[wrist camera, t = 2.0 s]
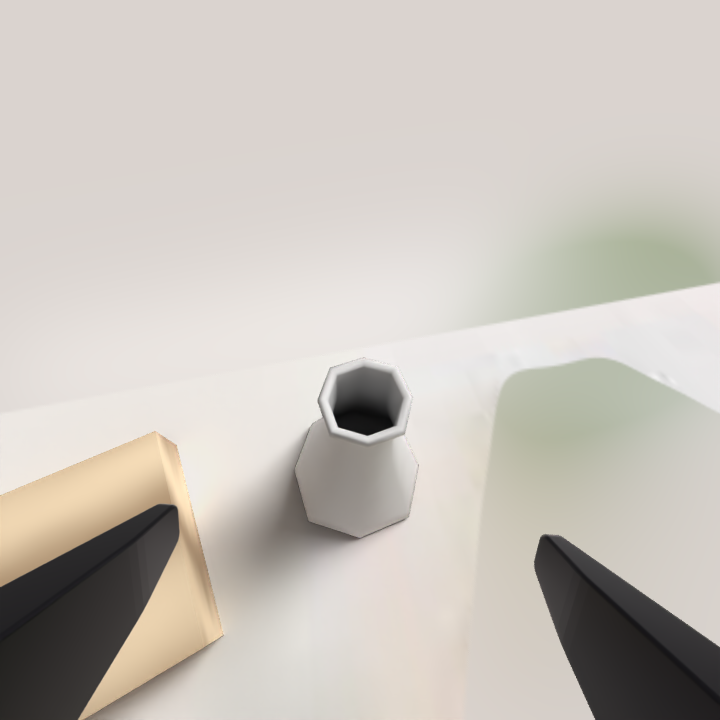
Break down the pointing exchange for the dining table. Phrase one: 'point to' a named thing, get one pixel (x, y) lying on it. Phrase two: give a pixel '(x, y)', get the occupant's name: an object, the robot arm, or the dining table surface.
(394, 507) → the flask
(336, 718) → the dining table surface
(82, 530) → the oak block
